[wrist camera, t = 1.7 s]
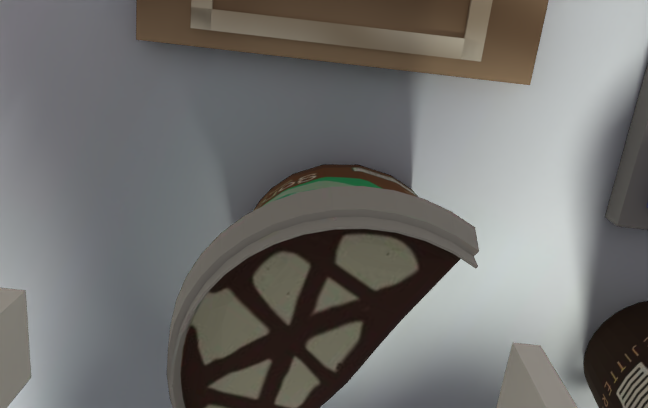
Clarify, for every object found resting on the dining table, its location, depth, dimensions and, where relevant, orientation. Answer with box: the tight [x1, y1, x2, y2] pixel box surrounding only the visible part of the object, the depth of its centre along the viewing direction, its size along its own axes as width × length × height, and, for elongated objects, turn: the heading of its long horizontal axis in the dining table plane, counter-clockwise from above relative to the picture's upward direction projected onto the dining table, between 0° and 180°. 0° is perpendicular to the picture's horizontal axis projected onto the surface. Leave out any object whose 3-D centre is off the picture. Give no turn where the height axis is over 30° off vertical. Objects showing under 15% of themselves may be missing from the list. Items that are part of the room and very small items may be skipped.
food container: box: [167, 164, 479, 408], centre depth 22 cm, size 12×6×10 cm, turn 141°
